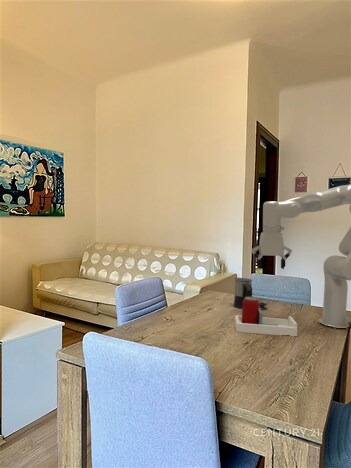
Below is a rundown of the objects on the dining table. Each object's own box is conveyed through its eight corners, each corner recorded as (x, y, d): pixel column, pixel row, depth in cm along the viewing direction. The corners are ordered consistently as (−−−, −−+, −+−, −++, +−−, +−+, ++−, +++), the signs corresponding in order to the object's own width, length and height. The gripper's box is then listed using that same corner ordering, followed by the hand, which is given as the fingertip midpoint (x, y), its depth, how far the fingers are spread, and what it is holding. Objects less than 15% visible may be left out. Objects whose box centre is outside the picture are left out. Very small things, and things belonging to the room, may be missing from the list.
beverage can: (256, 323, 141) (257, 296, 140) (258, 329, 134) (260, 300, 134) (240, 322, 141) (242, 295, 141) (242, 328, 135) (243, 299, 134)
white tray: (290, 327, 141) (291, 316, 141) (296, 336, 130) (297, 324, 130) (234, 323, 144) (235, 311, 144) (236, 331, 133) (237, 319, 133)
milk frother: (229, 305, 174) (231, 278, 174) (252, 302, 182) (253, 276, 181) (247, 312, 162) (248, 283, 161) (270, 309, 169) (272, 281, 169)
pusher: (276, 324, 141) (277, 308, 140) (280, 331, 132) (281, 314, 132) (256, 322, 142) (257, 307, 141) (259, 329, 133) (259, 313, 133)
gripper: (289, 229, 144) (289, 267, 145) (250, 229, 146) (250, 266, 147) (294, 230, 137) (293, 270, 138) (252, 230, 139) (252, 269, 140)
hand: (271, 268), depth 142 cm, fingers open, 9 cm apart
